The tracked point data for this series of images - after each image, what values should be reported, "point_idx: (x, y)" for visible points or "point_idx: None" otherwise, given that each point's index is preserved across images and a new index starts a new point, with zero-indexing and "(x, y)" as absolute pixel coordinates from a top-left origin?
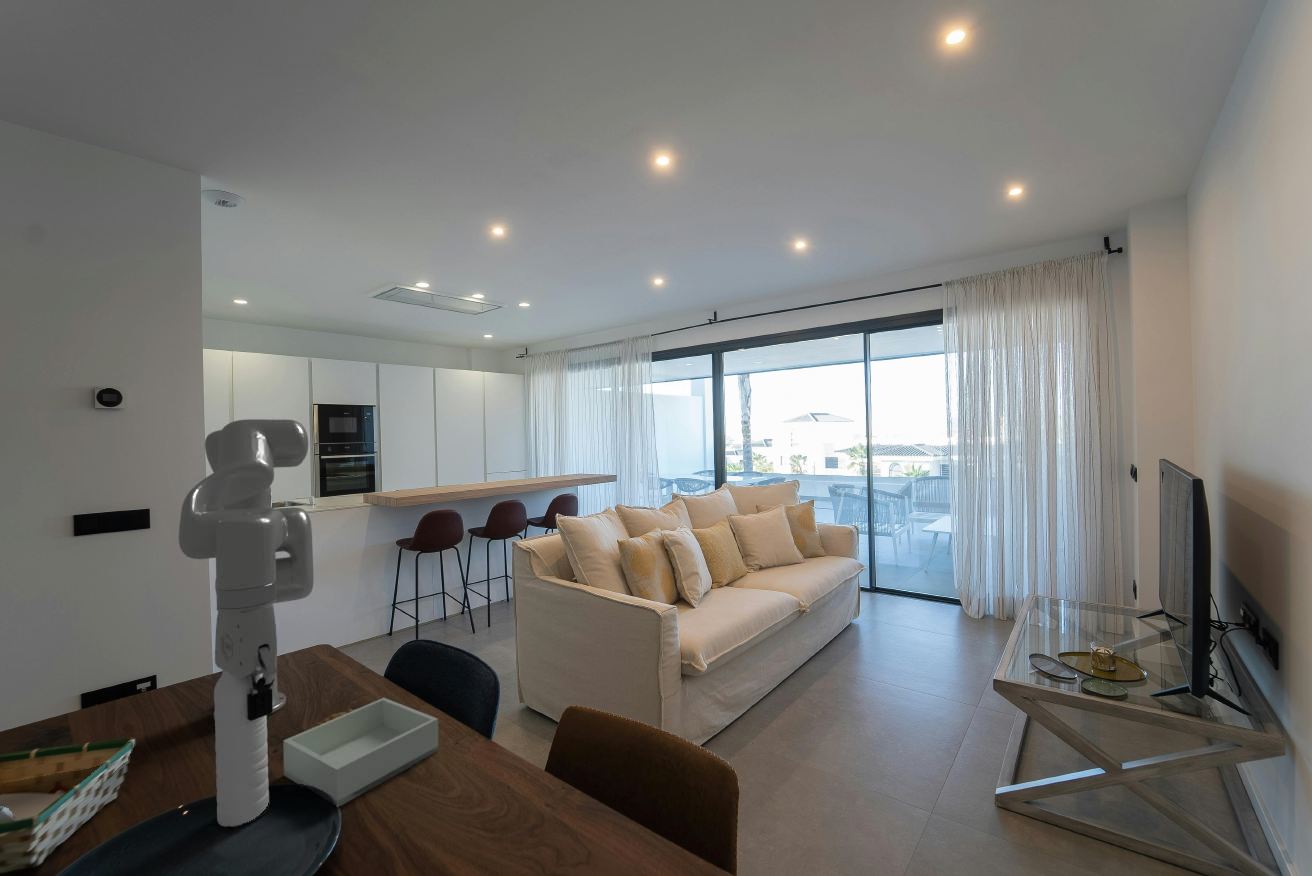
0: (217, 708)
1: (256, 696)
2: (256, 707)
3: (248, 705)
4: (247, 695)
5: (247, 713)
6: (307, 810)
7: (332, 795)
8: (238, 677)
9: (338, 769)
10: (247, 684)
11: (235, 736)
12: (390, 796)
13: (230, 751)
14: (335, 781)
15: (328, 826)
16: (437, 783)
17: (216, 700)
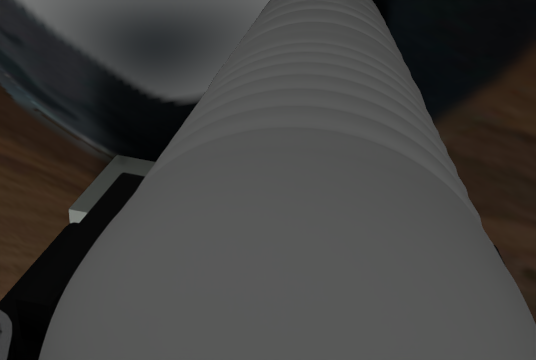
0: (323, 125)
1: (5, 311)
2: (59, 245)
3: (81, 233)
4: (49, 296)
5: (130, 196)
6: (174, 122)
7: (130, 170)
8: None
9: (69, 211)
10: None
11: (210, 86)
12: (52, 220)
13: (244, 45)
14: (96, 189)
15: (62, 96)
16: (12, 279)
17: (314, 154)
